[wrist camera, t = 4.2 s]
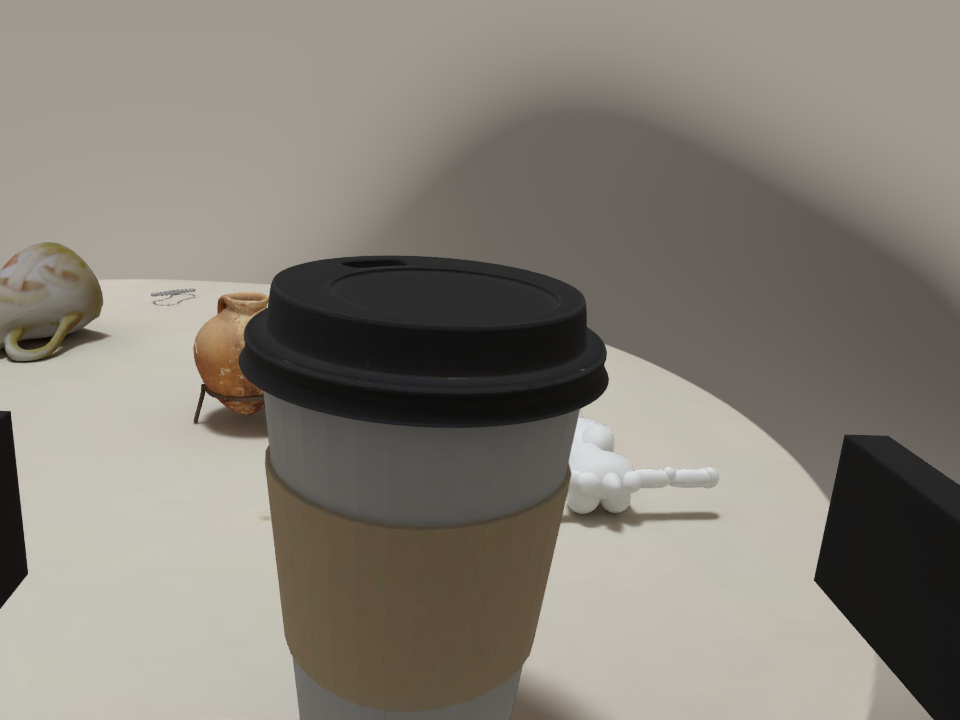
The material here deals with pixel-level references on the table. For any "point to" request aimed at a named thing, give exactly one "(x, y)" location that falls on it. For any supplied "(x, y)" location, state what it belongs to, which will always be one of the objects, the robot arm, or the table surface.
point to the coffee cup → (417, 474)
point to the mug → (45, 298)
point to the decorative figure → (617, 472)
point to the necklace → (173, 292)
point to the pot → (228, 354)
